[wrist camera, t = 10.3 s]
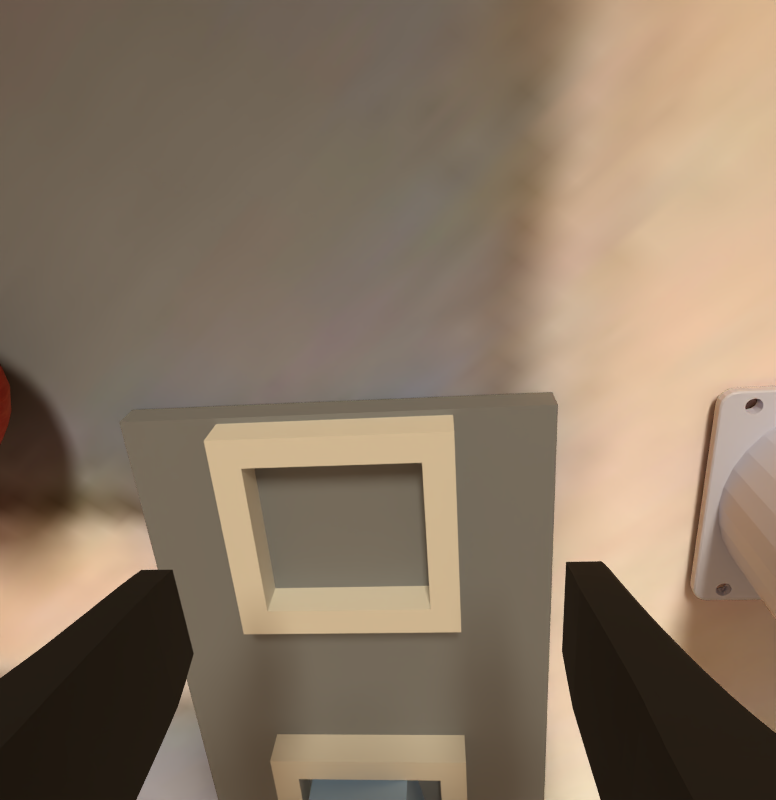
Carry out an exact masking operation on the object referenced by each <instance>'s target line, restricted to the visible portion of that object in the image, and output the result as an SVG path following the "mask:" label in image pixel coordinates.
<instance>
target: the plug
mask: <svg viewBox="0 0 776 800" xmlns="http://www.w3.org/2000/svg"><path fill="white" fill-rule="evenodd" d="M309 800H425V799H424V796H423V793H422V790H421V787H420V784H419V782H418V780H335V779H313V780H312V785H311V790H310V796H309Z"/></svg>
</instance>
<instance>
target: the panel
mask: <svg viewBox="0 0 776 800" xmlns="http://www.w3.org/2000/svg"><path fill="white" fill-rule="evenodd" d="M557 414H558V404H557V402H556V400H555V397H554V395H553V393H552V392H546V393H522V394H499V395H475V396H451V397H427V398H403V399H380V400H356V401H332V402H308V403H284V404H261V405H237V406H213V407H189V408H165V409H142V410H132V411H131V412H130V413H129V414H128V415H127V416H126V417H125V418H124V419H122V420H121V421H120V422H119V423H120V427H121V430H122V434H123V438H124V442H125V446H126V449H127V453H128V457H129V461H130V465H131V469H132V472H133V476H134V480H135V484H136V488H137V491H138V495H139V499H140V503H141V507H142V510H143V514H144V518H145V522H146V526H147V529H148V533H149V537H150V541H151V545H152V549H153V552H154V556H155V560H156V564H157V568H158V570H173V573H174V577H175V581H176V585H177V589H178V593H179V597H180V601H181V605H182V609H183V613H184V617H185V621H186V625H187V629H188V633H189V637H190V641H191V645H192V649H193V653H194V655H193V658H192V662H191V665H190V668H189V672H188V675H187V682H188V686H189V690H190V693H191V697H192V701H193V705H194V709H195V712H196V716H197V720H198V724H199V728H200V731H201V735H202V739H203V743H204V747H205V750H206V754H207V758H208V762H209V766H210V770H211V773H212V777H213V781H214V785H215V789H216V792H217V796H218V800H309V796H310V790H311V785H312V780H313V779H335V780H418V782H419V784H420V787H421V790H422V793H423V796H424V799H425V800H544V785H545V756H546V728H547V699H548V671H549V642H550V614H551V585H552V557H553V528H554V500H555V471H556V443H557Z"/></svg>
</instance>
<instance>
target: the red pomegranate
mask: <svg viewBox="0 0 776 800" xmlns="http://www.w3.org/2000/svg"><path fill="white" fill-rule="evenodd" d="M10 415H11V397H10V385H9V382H8V380H7V378H6V376H5V374H4V372H3V369H2V367H1V365H0V444H1V442H2V439H3V437H4V434H5V432H6V430H7V427H8V424H9V419H10Z"/></svg>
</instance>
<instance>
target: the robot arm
mask: <svg viewBox="0 0 776 800" xmlns="http://www.w3.org/2000/svg"><path fill="white" fill-rule="evenodd" d="M755 398H757V403H756V405H755V406H753V407H752V408H749V409H745V406H746V404H747V402H748V401H750V400H751V399H755ZM724 583H725V584H726V585H725V586H723V587H721V588H717V586H719V585H720V584H724ZM690 586H691V589H692V591H693V593H694V594H695V596H696V597H697V598H699V599H701V600H762V601H763V602H764V603H765V605H766V606H767V608H768V609H769V611H770V612H771V613H772V615H773V616H774V618H775V619H776V386H764V387H740V388H731V389H727V390H726V391H724V392H722V393H721V394H720V395H719V397H718V398H717V401H716V404H715V411H714V418H713V425H712V433H711V440H710V447H709V454H708V461H707V468H706V475H705V482H704V489H703V496H702V504H701V511H700V518H699V525H698V532H697V539H696V546H695V553H694V560H693V567H692V575H691V582H690ZM562 653H563V659H564V664H565V670H566V675H567V681H568V686H569V691H570V696H571V701H572V706H573V710H574V714H575V717H576V720H577V724H578V727H579V730H580V734H581V737H582V740H583V744H584V747H585V750H586V754H587V757H588V760H589V763H590V767H591V770H592V773H593V776H594V780H595V783H596V786H597V789H598V793H599V796H600V799H601V800H776V733H775V732H774V731H772V730H771V729H770V728H769V727H767V726H766V725H765V724H764V723H762V722H761V721H760V720H759V719H758V718H756V717H755V716H754V715H753V714H751V713H750V712H749V711H748V710H747V709H746V708H744V707H743V706H742V705H741V704H740V703H739V702H738V701H737V700H735V699H734V698H733V697H732V696H731V695H730V694H729V693H728V692H727V691H725V690H724V689H723V688H722V687H721V686H720V685H719V684H718V683H717V682H716V681H715V680H714V679H713V678H711V677H710V676H709V675H708V674H707V673H706V672H705V671H704V670H703V669H702V668H701V667H700V666H699V665H698V664H697V663H696V662H695V661H694V660H693V659H692V658H691V657H690V656H689V655H688V654H687V653H686V652H685V651H684V650H683V649H682V648H681V647H680V646H679V645H678V644H677V643H676V642H675V641H674V640H673V639H672V638H671V637H670V636H669V635H668V634H667V633H666V632H665V631H664V630H663V629H662V628H661V627H660V626H659V625H658V623H657V622H656V621H655V620H654V619H653V618H652V617H651V616H650V615H649V614H648V613H647V611H646V610H645V609H644V608H643V607H642V606H641V605H640V604H639V603H638V601H637V600H636V599H635V598H634V597H633V596H632V595H631V594H630V592H629V591H628V590H627V589H626V588H625V587H624V586H623V584H622V583H621V582H620V581H619V580H618V579H617V577H616V576H615V575H614V574H613V573H612V572H611V570H610V569H609V568H608V567H607V566H606V565H605V564H604V563H603V562H602V561H598V562H566V578H565V600H564V622H563V644H562ZM193 655H194V653H193V649H192V645H191V641H190V637H189V633H188V629H187V625H186V621H185V617H184V613H183V609H182V605H181V601H180V597H179V593H178V589H177V585H176V581H175V577H174V573H173V570H141V571H139V572H138V573H137V574H135V575H134V576H132V577H131V578H130V579H128V580H127V581H126V582H124V583H123V584H122V585H121V586H119V587H118V588H117V589H115V590H114V591H113V592H112V593H110V594H109V595H108V596H107V597H105V598H104V599H103V600H102V601H100V602H99V603H98V604H97V605H95V606H94V607H93V608H92V609H90V610H89V611H88V612H87V613H85V614H84V615H83V616H82V617H80V618H79V619H78V620H76V621H75V622H74V623H73V624H71V625H70V626H69V627H68V628H66V629H65V630H64V631H63V632H61V633H60V634H59V635H57V636H56V637H55V638H54V639H52V640H51V641H50V642H49V643H47V644H46V645H45V646H43V647H42V648H41V649H39V650H38V651H37V652H35V653H34V654H33V655H31V656H30V657H29V658H27V659H26V660H24V661H23V662H22V663H20V664H19V665H18V666H16V667H15V668H14V669H12V670H11V671H10V672H8V673H7V674H5V675H4V676H3V677H1V678H0V800H136V799H137V797H138V795H139V792H140V790H141V788H142V786H143V784H144V781H145V779H146V777H147V775H148V773H149V770H150V768H151V766H152V764H153V762H154V759H155V757H156V755H157V753H158V751H159V748H160V746H161V744H162V741H163V739H164V737H165V735H166V732H167V730H168V728H169V726H170V723H171V721H172V719H173V716H174V714H175V712H176V709H177V707H178V704H179V701H180V698H181V695H182V692H183V688H184V685H185V682H186V679H187V675H188V672H189V668H190V665H191V662H192V658H193Z"/></svg>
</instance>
